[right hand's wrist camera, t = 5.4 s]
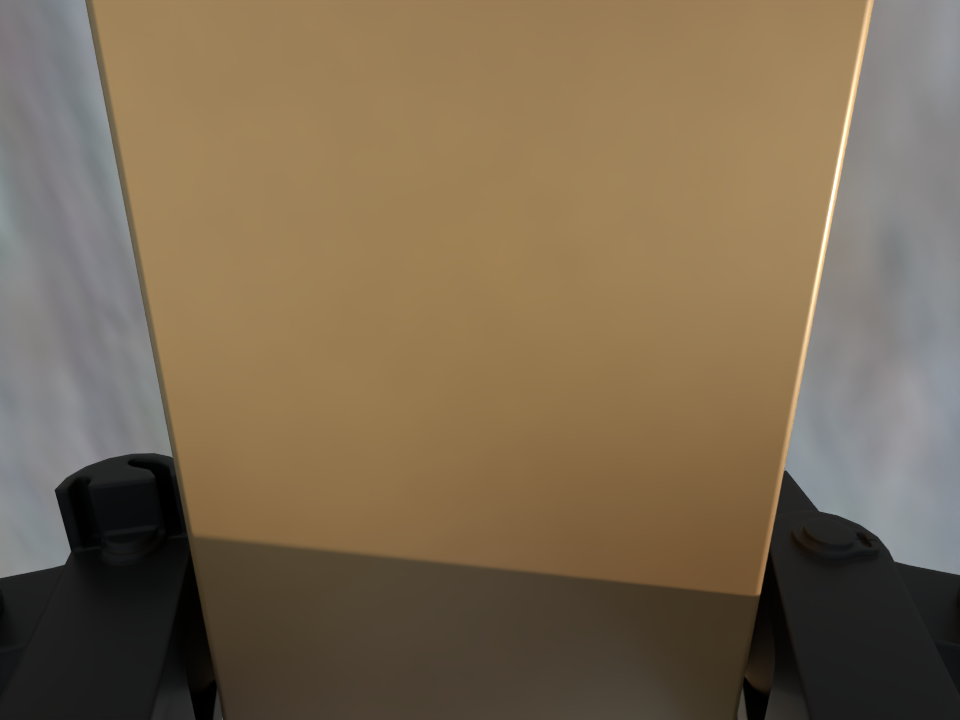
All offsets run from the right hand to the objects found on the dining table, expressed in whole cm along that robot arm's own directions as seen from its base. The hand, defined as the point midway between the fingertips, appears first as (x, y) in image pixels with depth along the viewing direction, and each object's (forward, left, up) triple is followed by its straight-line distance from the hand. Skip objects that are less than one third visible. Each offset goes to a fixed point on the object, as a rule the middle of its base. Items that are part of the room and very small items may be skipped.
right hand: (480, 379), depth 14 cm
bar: (+4, +7, -1) cm, 8 cm away
